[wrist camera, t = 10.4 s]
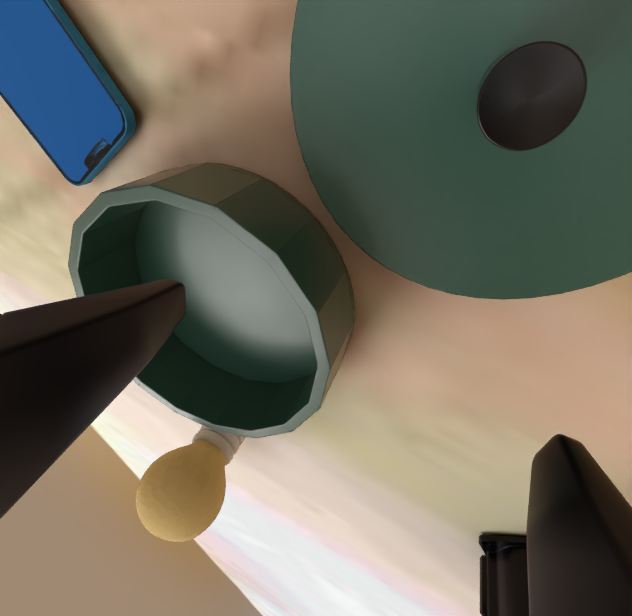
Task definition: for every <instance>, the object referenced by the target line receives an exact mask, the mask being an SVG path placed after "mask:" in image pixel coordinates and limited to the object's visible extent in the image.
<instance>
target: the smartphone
mask: <svg viewBox="0 0 632 616" xmlns="http://www.w3.org/2000/svg"><path fill="white" fill-rule="evenodd" d="M0 95H1V97H2V98H3V99H4V101H5V102H6V103H7V104H8V106H9V107H10V108H11V109H12V111H13V112H14V113H15V115H16V116H17V117H18V118H19V120H20V121H21V122H22V124H23V125H24V126H25V127H26V129H27V130H28V131H29V132H30V134H31V135H32V136H33V138H34V139H35V140H36V141H37V143H38V144H39V145H40V147H41V148H42V149H43V150H44V152H45V153H46V154H47V156H48V157H49V158H50V159H51V161H52V162H53V163H54V164H55V166H56V167H57V168H58V170H59V171H60V172H61V173H62V175H63V176H64V177H65V178H66V179H67V180H68V181H69V182H70V183H71V184H73V185H76V186H80V185H84V184H88V183H90V182H91V181H92V180H93V179H94V178H95V177H96V176H97V175H98V173H99V172H100V171H101V170H102V169H103V168H104V167H105V166H106V164H107V163H108V162H109V161H110V160H111V159H112V158H113V157H114V155H115V154H116V153H117V152H118V151H119V150H120V149H121V148H122V146H123V145H124V144H125V143H126V142H127V141H128V140H129V139H130V137H131V136H132V135H133V134H134V132H135V128H136V121H135V116H134V113H133V111H132V109H131V107H130V106H129V104H128V103H127V101H126V100H125V98H124V97H123V95H122V94H121V92H120V91H119V90H118V88H117V87H116V85H115V84H114V82H113V81H112V79H111V78H110V76H109V75H108V73H107V72H106V71H105V69H104V68H103V66H102V65H101V63H100V62H99V60H98V59H97V57H96V56H95V55H94V53H93V52H92V50H91V49H90V47H89V46H88V44H87V43H86V41H85V40H84V38H83V37H82V36H81V34H80V33H79V31H78V30H77V28H76V27H75V25H74V24H73V22H72V21H71V19H70V18H69V17H68V15H67V14H66V12H65V11H64V9H63V8H62V6H61V5H60V3H59V2H58V0H0Z"/></svg>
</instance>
